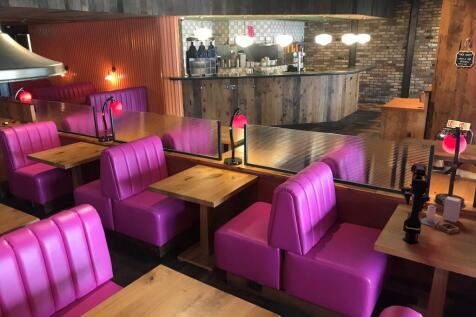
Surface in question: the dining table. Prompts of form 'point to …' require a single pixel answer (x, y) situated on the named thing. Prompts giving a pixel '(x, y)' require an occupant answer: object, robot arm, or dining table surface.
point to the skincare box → (451, 209)
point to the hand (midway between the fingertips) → (413, 207)
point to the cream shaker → (430, 213)
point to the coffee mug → (422, 205)
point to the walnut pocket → (453, 228)
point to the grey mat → (429, 222)
